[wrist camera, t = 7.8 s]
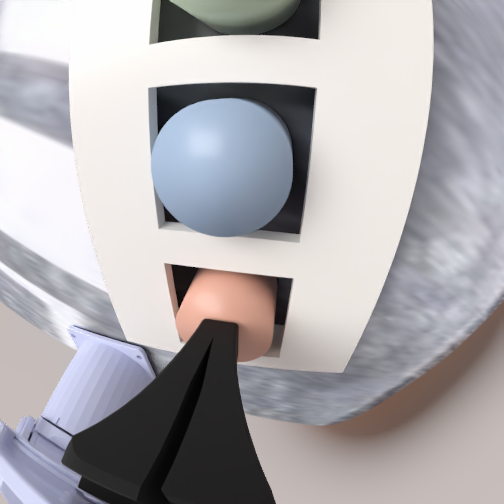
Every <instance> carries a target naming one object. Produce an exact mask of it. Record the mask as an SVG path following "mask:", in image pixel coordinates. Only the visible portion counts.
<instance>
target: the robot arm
mask: <svg viewBox="0 0 504 504" xmlns="http://www.w3.org/2000/svg"><path fill="white" fill-rule="evenodd" d="M67 330H68V332H69V334H70V336H71V337H72V339H73V341H74V342H75V344H76V346H77V347H78V351H77V353H76V354H75V356H74V358H73V359H72V361H71V362H70V364H69V366H68V368H67V369H66V371H65V373H64V374H63V376H62V378H61V380H60V381H59V383H58V385H57V387H56V389H55V390H54V392H53V394H52V396H51V398H50V400H49V401H48V403H47V405H46V407H45V409H44V411H43V413H42V415H41V417H40V418H37V420H36V422H35V419H34V418H33V417H31V416H29V417H22V418H21V420H20V422H19V424H18V426H17V428H16V430H15V431H14V430H13V429H11V428H10V427H9V426H7V425H6V424H5V423H4V422H2V421H1V420H0V492H1V493H2V495H3V496H4V498H5V499H6V500H7V502H8V503H9V504H276V503H275V500H274V497H273V494H272V490H271V488H270V486H269V484H268V482H267V479H266V477H265V475H264V472H263V470H262V467H261V465H260V462H259V460H258V457H257V454H256V451H255V448H254V445H253V442H252V439H251V436H250V433H249V429H248V426H247V422H246V418H245V414H244V410H243V405H242V401H241V395H240V389H239V383H238V376H237V359H238V339H239V325H237V324H236V323H232V322H224V321H218V320H211V319H203V320H202V321H201V323H200V325H199V326H198V327H197V329H196V330H195V332H194V333H193V335H192V336H191V337H190V339H189V340H188V341H187V342H186V344H185V345H184V346H183V348H182V349H181V350H180V351H179V352H178V354H177V355H176V356H175V357H174V358H173V360H172V361H171V362H170V363H169V364H168V365H167V366H166V367H165V368H164V369H163V370H162V372H161V373H160V374H159V375H158V376H157V377H156V376H155V373H154V371H153V369H152V367H151V364H150V362H149V360H148V357H147V355H146V352H145V351H144V349H143V348H141V347H139V346H135V345H131V344H128V343H124V342H121V341H117V340H114V339H111V338H107V337H104V336H101V335H98V334H95V333H92V332H89V331H86V330H83V329H80V328H77V327H74V326H71V325H69V326H68V328H67ZM34 423H35V424H34Z"/></svg>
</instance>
